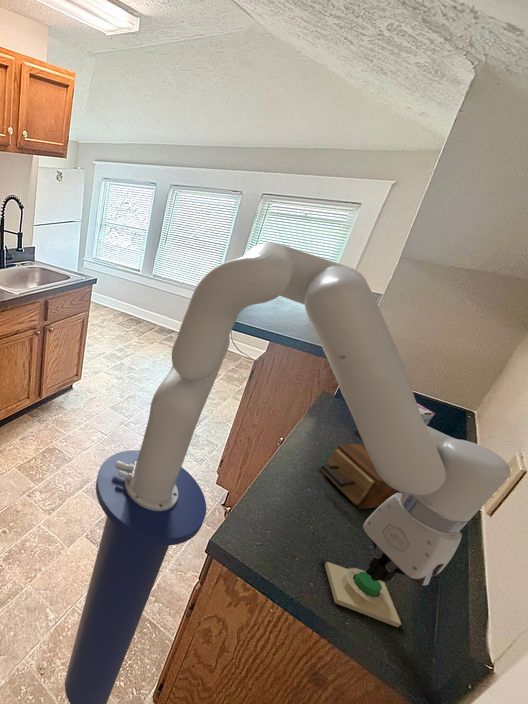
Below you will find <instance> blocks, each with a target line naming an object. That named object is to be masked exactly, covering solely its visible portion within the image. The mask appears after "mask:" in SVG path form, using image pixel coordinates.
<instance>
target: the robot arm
mask: <svg viewBox="0 0 528 704" xmlns="http://www.w3.org/2000/svg"><path fill="white" fill-rule="evenodd" d="M278 297H282V298H285V299H287V300H290V301H293V302H295V303H297V304H298V303H299V304H302V305H304V309H305V312H306V316H307V318H308V320H309V322H310V325H311V326H312V329H313V331H314V333H315V335H316V337H317V339H318V341H319V344H320V346H321V349H322V350H323V352H324V355H325V357H326V358H327V361H328V363H329V366H330V368H331V371H332V373H333V375H334V377H335V379H336V382H337V385H338V387H339V390H340V392H341V395H342V397H343V399H344V401H345V403H346V405H347V408H348V409H349V411H350V414H351V417H352V418H353V421H354V424H355V426H356V429H357V432H359V433H360V435H359V436H360V438H361V441H362V442H363V443H362V444H364V445H365V447H366V450H367V452H368V454H369V456H370V458H371V460H372V463H373V465H374V467H375V469H376V471H377V473H378V475H379V476H380V478H381V479H382V480H383V481H384V482H385V483H386V484H388V485H389V486H390V487H392V488H394V489H396V490H398V491H400V492H402V493H395V494H394V495H392V496H391V497H390V498H388V499H387V500H386V501H385V502H383V503H382V504H381V505H380V506H379V507H377V508H376V509H375V510H374V511H373V512H372V513H371V514H370V515H369V516H368V517H367V519H366V520H365V521H364V523H363V525H362V527H363V530H364V532H365V534H366V535H367V536H368V537H369V539H371V540H372V544H373V547H374V550H373V552H372V553H373V558H372V560H371V561H370V562H369V563H368V566H369V567H368V568H367V570H366V573H367V574H368V575H370V576H371V578H372V580H373V581H382V582H384V583H387V582H390V581H391V580H392V579H393V578H394V577H395V576H396V574H399V575H402V576H403V575H404V576H407V577H408V578H409V579H410V580H411V581H413V582H414V583H415V584H416V585H417V586H419V587H425V586H429V584H430V581H431V578H432V577H437V576H438V575H439V574H440V573H441V572H442V571H443V570H444V569H445V568H446V566H447V565H448V564H449V562H450V561H451V560H452V558H453V557H454V555H455V553H456V551H457V549H458V547H459V545H460V543H461V540H462V537H463V534H462V533H461V532H460V531H461V530H462V529H464V527H465V526H466V525H467V524H468V523H469V522H470V521H471V519H472V518H474V516H475V515H476V514H477V513H478V512H479V511H480V510H481V509H482V508H483V507H484V505H485V504H486V503H487V502H488V501H489V500H490V499H491V498H492V497H493V496H494V495H495V493H496V492H497V491H499V489H500V488H501V487H502V486H503V485H504V484H505V483H506V482H507V481H508V479H509V478H510V476H511V467H510V465H509V464H508V463H507V461H506V460H505V458H503V457H501V456H500V455H498V454H497V452H494V451H493V450H490V449H488V448H487V447H485V446H482V445H481V444H477V443H476V442H472V441H468V440H465V439H458V438H455V437H452V436H451V435H448V434H445V433H443V432H441V431H439V430H437V429H435V428H433V427H430V426H428V424H427V425H425V423H424V420H423V418H422V416H421V413H420V411H419V408H418V405H417V403H418V402H417V400H416V397H415V395H414V391H413V388H412V383H411V381H410V377H409V373H408V372H407V369H406V366H405V364H404V362H403V359H402V356H401V355H400V352H399V350H398V347H397V346H396V344H395V341H394V339H393V337H392V335H391V332H390V330H389V328H388V325H387V323H386V321H385V318H384V316H383V313H382V311H381V310H380V307H379V305H378V303H377V301H376V297H375V296H374V294H373V292H372V289H371V287H370V286H369V283H368V281H367V280H366V278H365V277H364V275H363V274H362V273H361V272H359V271H358V270H357V269H355V268H353V267H351V266H348V265H345V264H342V263H339V262H335V261H332V260H329V259H326V258H323V257H320V256H317V255H314V254H311V253H308V252H305V251H302V250H300V249H299V250H298V249H296V248H293V247H290V246H288V245H285V244H281V243H276V242H263V243H260V244H257V245H255V246H252V247H251V248H250V249H248V250H247V251H246V252H245V253H244V254H243V256H241V257H237V258H234V259H231V260H228V261H225V262H223V263H221V264H218V265H216V266H214V267H213V268H212V269H210V270H209V271H208V272H206V274H205V275H203V276H202V278H201V279H200V280H199V281H198V283H197V285H196V287H195V288H194V290H193V292H192V295H191V297H190V300H189V303H188V306H187V310H186V312H185V314H184V316H183V319H182V322H181V325H180V327H179V328H180V329H179V331H178V334H177V337H176V339H175V341H174V344H173V346H172V348H171V349H172V350H171V363H172V366H171V368H170V370H169V372H168V373H167V375H166V376H165V377H164V378H163V380H162V381H161V383H160V384H159V386H158V387H157V388H156V391H155V392H154V394H153V397H152V400H151V403H150V409H149V415H148V419H147V424H146V428H145V431H144V435H143V437H142V438H143V439H142V441H141V446H140V448H139V450H140V452H139V456H138V459H137V461H135V464H134V465H133V464H130V465H128V464H125V463H124V462H121V461H118V460H117V463H116V467H115V468H117V469H120V471H119V474H118V476H121V477H124V478H125V489H126V491H127V493H128V495H129V496H130V497H131V499H132V500H133V501H134V502H136V503H137V504H138V505H140V506H142V507H144V508H146V509H149V510H153V511H165V510H168V509H170V508H172V507H173V506H174V505H175V504H176V502H177V499H178V489H177V487H176V485H175V483H176V481H177V478H178V475H179V472H180V470H181V467H182V468H183V464H184V461H185V459H186V455H187V454H188V453H187V452H188V450H189V447H190V444H191V442H192V438H193V437H194V433H195V430H196V427H197V425H198V422H199V421H200V418H201V415H202V412H203V410H204V407H205V406H206V403H207V401H208V398H209V396H210V393H211V392H212V389H213V386H214V384H215V382H216V379H217V377H218V374H219V372H220V370H221V367H222V365H223V361H224V359H225V357H226V355H227V353H228V350H229V347H230V342H231V339H230V334H231V332H232V330H233V329H234V326H235V324H236V321H237V319H238V317H239V315H240V314H241V312H242V311H243V310H245V309H246V308H248V307H250V306H255V305H259V304H264V303H269V302H271V301H273V300H275V299H277V298H278ZM121 470H124V471H127V472H128V473H126V472H124V471H121Z"/></svg>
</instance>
